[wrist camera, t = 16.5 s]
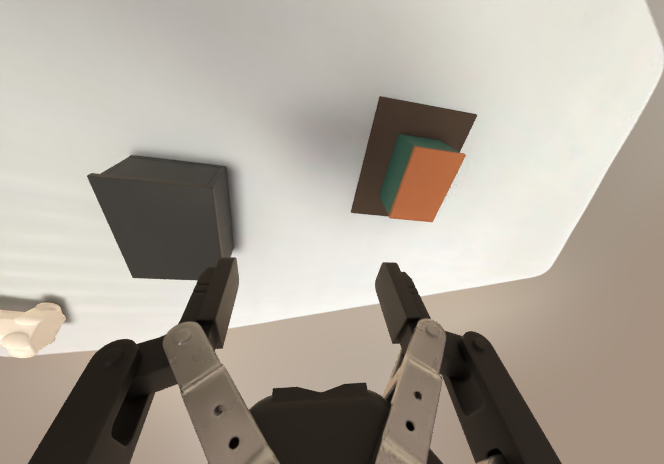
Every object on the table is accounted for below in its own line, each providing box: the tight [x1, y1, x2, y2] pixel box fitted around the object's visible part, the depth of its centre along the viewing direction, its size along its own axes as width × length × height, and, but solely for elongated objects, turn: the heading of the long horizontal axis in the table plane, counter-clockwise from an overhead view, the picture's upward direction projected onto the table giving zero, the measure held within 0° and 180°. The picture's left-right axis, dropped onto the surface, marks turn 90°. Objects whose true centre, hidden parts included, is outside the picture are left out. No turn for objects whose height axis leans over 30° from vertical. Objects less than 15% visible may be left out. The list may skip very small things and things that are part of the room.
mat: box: [351, 97, 477, 216], centre depth 34 cm, size 16×13×1 cm
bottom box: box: [87, 155, 234, 280], centre depth 31 cm, size 15×12×7 cm
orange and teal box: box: [379, 134, 466, 222], centre depth 31 cm, size 9×6×6 cm
